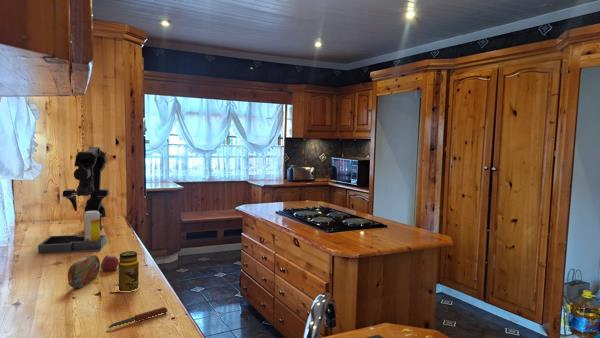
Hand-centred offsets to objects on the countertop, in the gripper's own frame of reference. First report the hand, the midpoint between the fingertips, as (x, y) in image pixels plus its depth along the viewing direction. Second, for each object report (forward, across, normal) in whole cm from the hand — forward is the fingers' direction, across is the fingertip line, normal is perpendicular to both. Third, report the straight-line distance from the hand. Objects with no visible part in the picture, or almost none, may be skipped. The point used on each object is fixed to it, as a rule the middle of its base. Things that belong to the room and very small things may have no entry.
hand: (86, 210), depth 183 cm
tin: (+13, +12, -60) cm, 63 cm away
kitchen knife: (+14, +33, -92) cm, 99 cm away
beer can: (+13, +6, -16) cm, 21 cm away
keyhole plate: (+13, -1, -16) cm, 21 cm away
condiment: (+13, +26, -68) cm, 74 cm away
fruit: (+13, +19, -48) cm, 53 cm away
